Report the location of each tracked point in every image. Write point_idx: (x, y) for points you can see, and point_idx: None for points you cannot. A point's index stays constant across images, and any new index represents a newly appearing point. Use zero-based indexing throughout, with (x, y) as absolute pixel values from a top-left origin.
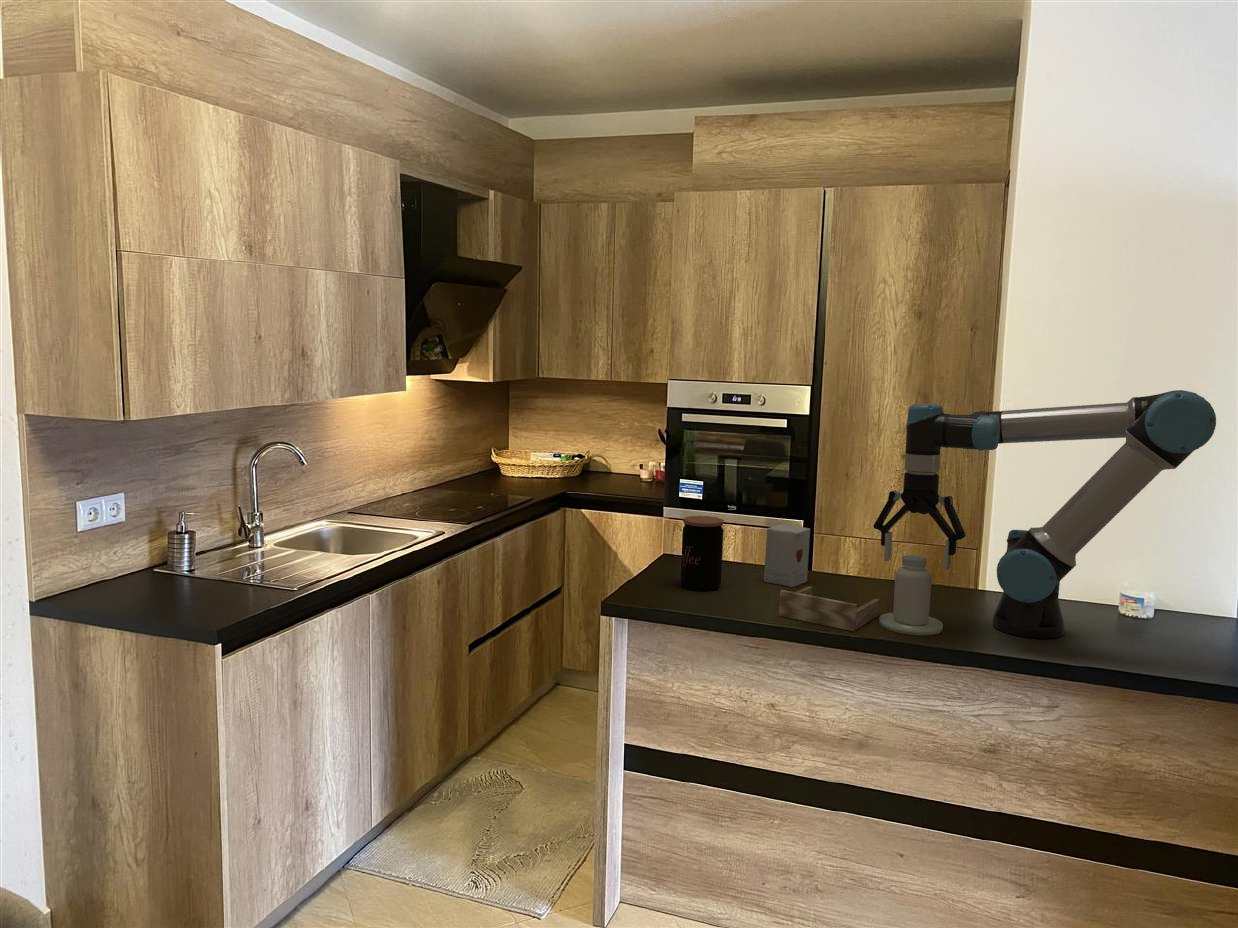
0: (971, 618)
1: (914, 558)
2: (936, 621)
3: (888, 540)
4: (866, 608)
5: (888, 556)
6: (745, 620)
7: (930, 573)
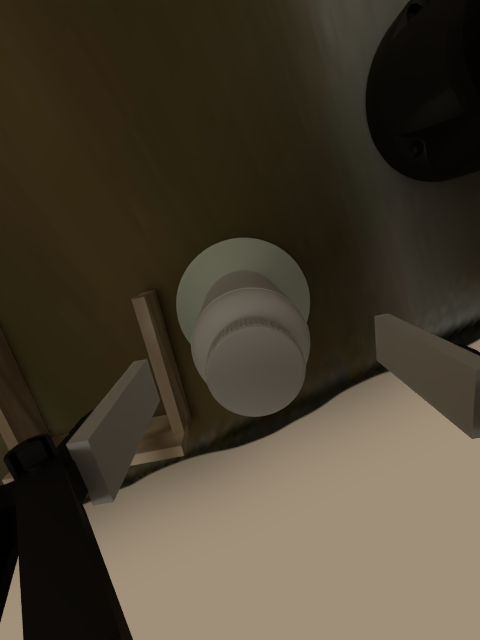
0: (310, 115)
1: (265, 391)
2: (283, 263)
3: (127, 460)
4: (169, 379)
5: (150, 397)
6: None
7: (305, 326)
